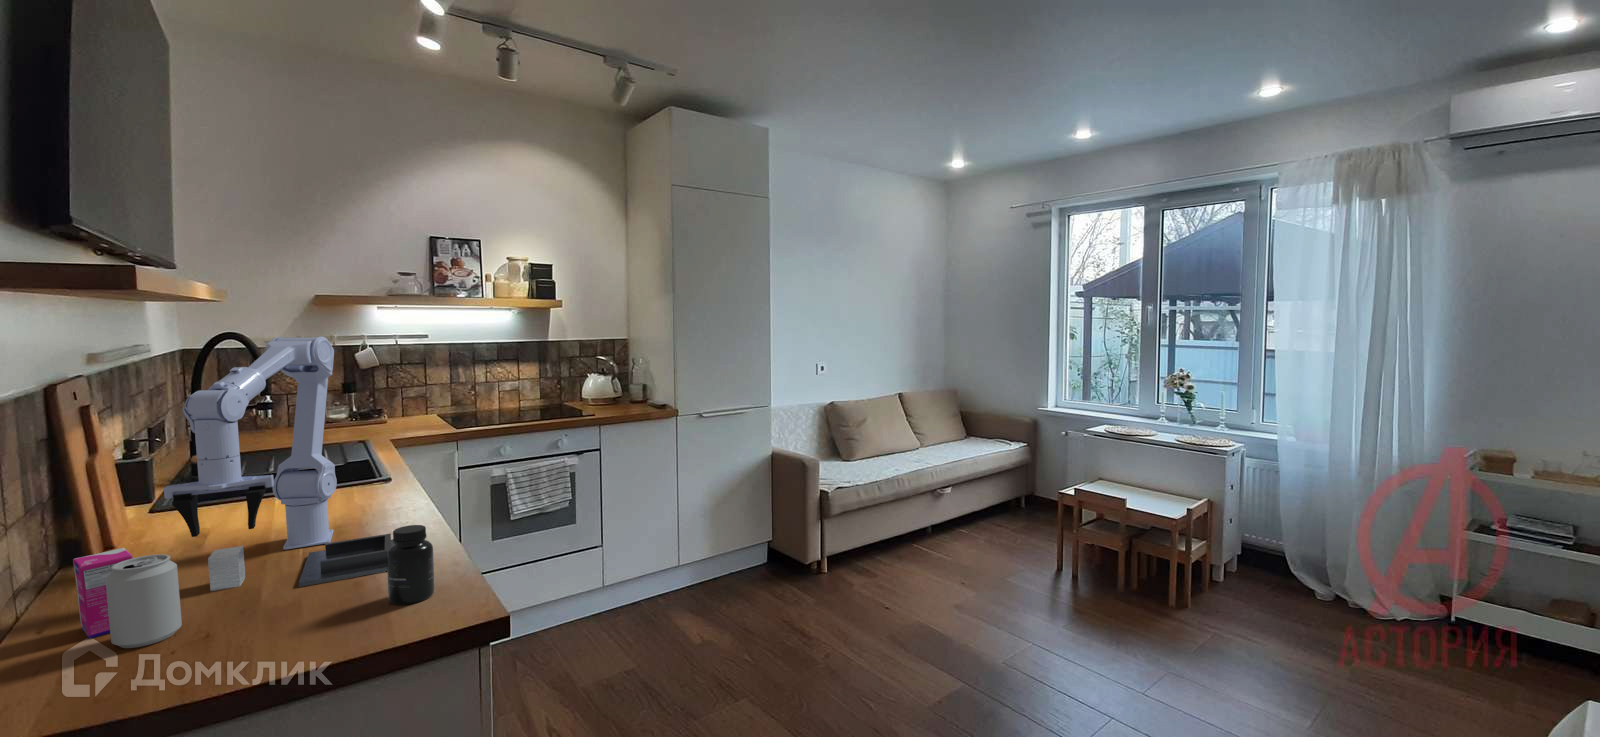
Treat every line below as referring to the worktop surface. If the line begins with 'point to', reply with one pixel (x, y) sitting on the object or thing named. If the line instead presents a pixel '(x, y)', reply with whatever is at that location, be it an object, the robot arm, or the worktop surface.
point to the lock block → (226, 568)
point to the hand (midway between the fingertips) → (224, 531)
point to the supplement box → (95, 589)
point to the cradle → (347, 560)
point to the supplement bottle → (410, 566)
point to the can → (143, 601)
